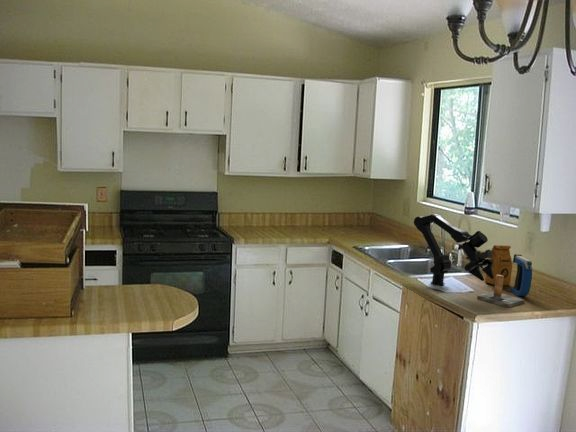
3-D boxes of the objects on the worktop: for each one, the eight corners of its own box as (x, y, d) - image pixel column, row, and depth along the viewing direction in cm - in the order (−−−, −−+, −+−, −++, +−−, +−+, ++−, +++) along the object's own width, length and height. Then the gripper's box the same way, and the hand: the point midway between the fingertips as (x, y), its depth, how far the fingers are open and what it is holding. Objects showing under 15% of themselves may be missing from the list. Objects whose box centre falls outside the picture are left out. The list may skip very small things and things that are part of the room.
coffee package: (512, 286, 320) (518, 247, 317) (492, 286, 317) (498, 246, 314) (501, 281, 330) (506, 243, 327) (482, 281, 327) (487, 242, 323)
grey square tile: (477, 298, 290) (477, 295, 290) (494, 294, 301) (494, 291, 301) (507, 307, 278) (507, 304, 278) (524, 302, 289) (524, 299, 289)
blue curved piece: (516, 290, 313) (521, 254, 310) (529, 299, 297) (534, 261, 294) (508, 289, 313) (512, 253, 310) (520, 298, 297) (525, 260, 294)
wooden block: (491, 300, 289) (495, 274, 287) (499, 301, 289) (503, 275, 287) (493, 302, 286) (497, 276, 284) (501, 303, 285) (504, 277, 283)
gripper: (473, 245, 285) (490, 273, 279) (492, 242, 298) (510, 269, 291) (456, 257, 292) (473, 284, 286) (476, 254, 305) (493, 280, 298)
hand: (488, 279), depth 290 cm, fingers open, 9 cm apart
